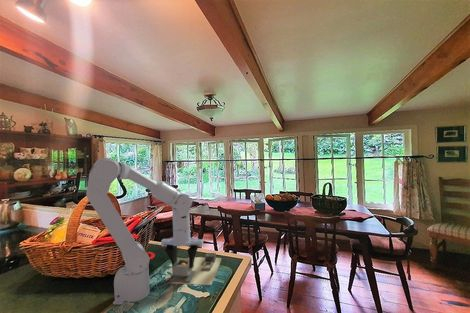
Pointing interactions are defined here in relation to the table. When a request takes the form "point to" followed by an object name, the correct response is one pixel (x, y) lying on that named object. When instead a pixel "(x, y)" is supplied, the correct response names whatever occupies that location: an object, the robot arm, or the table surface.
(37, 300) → the table surface
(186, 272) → the square metal tube
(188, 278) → the square tray with peg
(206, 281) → the board
